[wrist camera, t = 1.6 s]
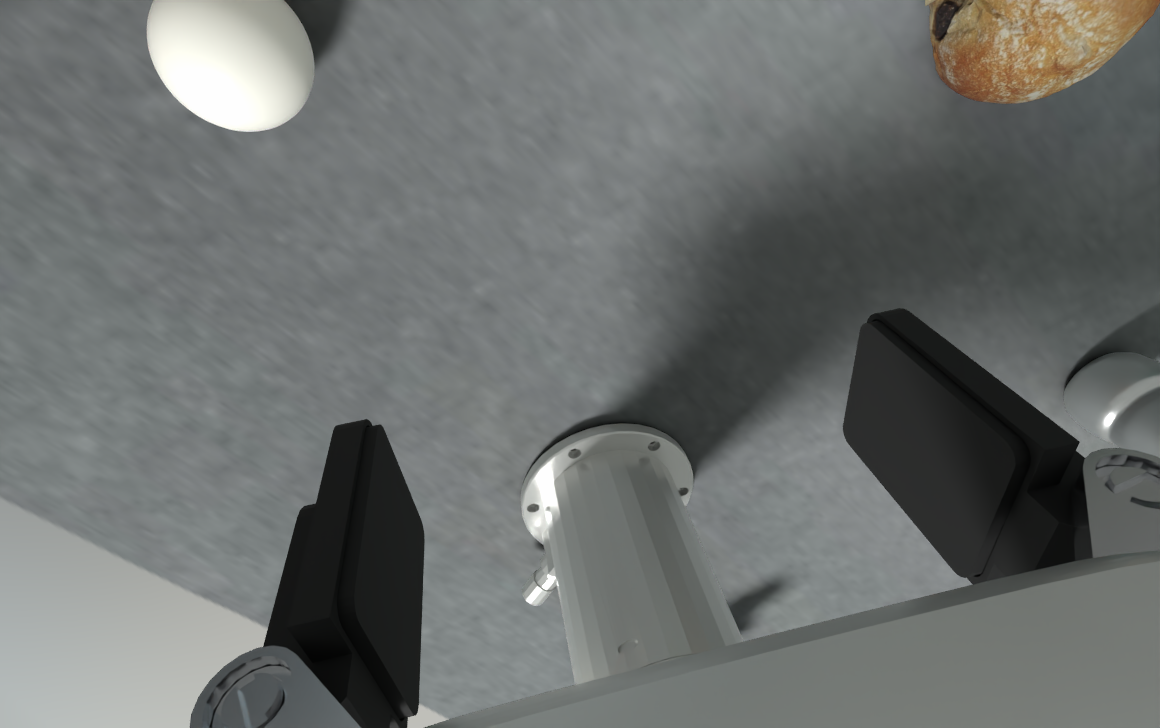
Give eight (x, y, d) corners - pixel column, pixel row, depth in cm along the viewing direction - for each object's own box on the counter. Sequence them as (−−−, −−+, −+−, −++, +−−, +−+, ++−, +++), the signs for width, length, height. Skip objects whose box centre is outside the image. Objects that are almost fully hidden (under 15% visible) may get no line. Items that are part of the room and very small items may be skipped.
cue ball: (299, 138, 27) (271, 175, 23) (162, 69, 25) (102, 95, 21) (344, 20, 25) (323, 35, 21) (200, -67, 23) (140, -72, 18)
